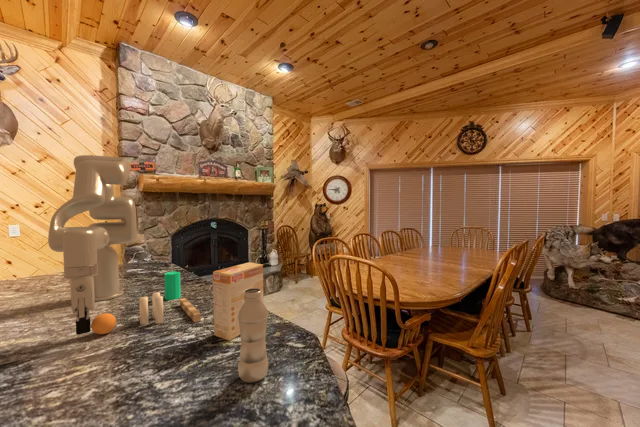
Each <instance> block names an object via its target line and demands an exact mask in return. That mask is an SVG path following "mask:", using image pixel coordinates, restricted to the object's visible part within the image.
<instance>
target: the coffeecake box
mask: <svg viewBox="0 0 640 427" xmlns="http://www.w3.org/2000/svg"><path fill="white" fill-rule="evenodd" d="M212 288H213V289H212V290H213V294H212V296H213V329H214V332H213V333H214V336H216V337H218V338H221V339H224V340H227V341H231V340H233V339H235V338H237V337H239V336H240V327H239V320H238V314H239V310H240V309H241V307H242V305H243V304H244V303H245V300H244V291H245V290H247V289H251V288H258V289H261V296H262V298H261V299H260V300H261V301H262V303H263V304H264V298H265V296H264V264H263V263H262V264H261V263H257V262H256V263H255V262H245V263H241V264H237V265H233V266H230V267H227V268H226V267H225V268H222V269H218V270H215V271H212ZM264 305H265V304H264Z"/></svg>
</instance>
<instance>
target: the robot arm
mask: <svg viewBox="0 0 640 427" xmlns="http://www.w3.org/2000/svg"><path fill="white" fill-rule="evenodd" d="M73 167H74V169H75V175H74V182H73V183H74V184H73V191H72V192H73V193H72V198H71V199H68V200H67V201H66V202H64V203H63V204H61V205H60V206H59V208H58V209H57V210H55V212H54V213H53V215H52V217H51V219H50V223H49V228H48V229H49V230H48V238H47V243H48V247H49V248H50V249H51V250H52V251H53V252H56V253H63V254H62V255H63V277H64V278H63V279H65V280H69V289H70V290H69V292H70V294H69V295H70V303H71V312H72V314H75V316H76V319H75V334H76V335H77V336H78V335H81V334H82V335H84V334H87V333H90V332H91V330H92V328H91V317H90V310H91V311H94V310H95V306H96V302H99V301H101V302H102V301H107V300H111V299H114V298H115V299H116V298H119V297H121V296H122V295H123V294H124V290H123V289H120V279H119V278H120V276H119V254H118V252H117V251H116V249H114V248H113V247H112V246H113V245H122V244H123V245H124V244H126V245H127V244H132V243H135V241H136V240H137V237H138V229H137V228H138V227H137V209H136V204H135V201H134V200H133V199H132V198H131V197H124V196H121V197H120V196H115V195H114V185H115V186H116V185H120V186H121V185H125V184H126V183H127V182H128V179H129V177H130V172H131V165H130V162H129V160H128V158H125V157H121V156H119V157H118V156H107V155H105V156H104V155H93V154H91V155H90V154H88V155H87V154H85V155H84V154H83V155H78V156H75V157H74V158H73ZM85 212H89V213H88V214H89V216H90V217H91V218H92V219H93V220H98V221H99V220H100V221H101V220H102V222H94V223H91V224H89V225H87V226H67V227H65V225H66V223H67V222H68V221H69V220H70V219H71V218H73V217H75V216H77V215H80V214H83V213H85ZM109 220H113V221H114V220H122V221H114V222H113V221H109ZM103 221H104V222H103ZM105 221H106V222H105Z"/></svg>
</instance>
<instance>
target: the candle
mask: <svg viewBox="0 0 640 427" xmlns="http://www.w3.org/2000/svg"><path fill="white" fill-rule="evenodd" d="M163 279H164V281H163V282H164V300H167V301H172V300H177V299H181V297H182V294H181V293H182V291H181V290H182V289H181V271H174V270H171V271H168V272H165V273H164V278H163Z"/></svg>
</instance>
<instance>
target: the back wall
mask: <svg viewBox="0 0 640 427" xmlns="http://www.w3.org/2000/svg"><path fill="white" fill-rule="evenodd" d="M179 306H180V307H181V309H182V310H183V311H184V313H186V315H187V316H188V317H189V318H190V319H191V321H193V323H197V322H201V313H200V311H199V310H198V309H197V308H196V307H195V306H194V305H193V304H192V303H191V302H190V301H189V300H188V299H187V298H185V297H183V298H179Z"/></svg>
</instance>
